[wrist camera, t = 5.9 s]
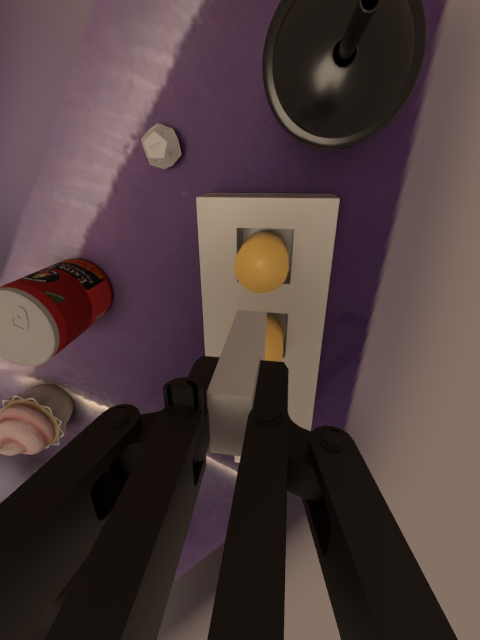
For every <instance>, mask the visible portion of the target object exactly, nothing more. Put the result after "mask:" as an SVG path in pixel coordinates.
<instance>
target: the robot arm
mask: <svg viewBox="0 0 480 640" xmlns="http://www.w3.org/2000/svg"><path fill="white" fill-rule="evenodd" d="M266 323H267V312H258V311H243V310H237V313H236V316H235V318H234V321H233V324H232V326H231V329H230V332H229V334H228V337H227V340H226V342H225V345H224V348H223V350H222V353H221V356H220V357H211V356H202V357H201V358H199V359H198V360H197V361H196V362H195V363H194V365H193V367H192V369H191V371H190V373H189V375H188V377H183V378H177V379H173V380H171V381H169V382H168V383H166V384H165V386H164V387H163V394H164V402H165V408H164V410H162V411H159V412H154V413H147V414H140V412H139V410H138V408H137V407H135V406H133V405H128V404H122V405H117V406H114V407H111V408H109V409H108V410H106V411H105V412H103V413H102V414H101V415H100V416H99V417H98V418H96V419H95V420H94V421H93V422H92V423H91V424H90V425H89V426H87V427H86V428H85V429H84V430H83V431H82V432H81V433H79V434H78V435H77V436H76V437H75V438H74V439H73V440H72V441H70V442H69V443H68V444H67V445H66V446H65V447H64V448H63V449H61V450H60V451H59V452H58V453H57V454H56V455H55V456H54V457H52V458H51V459H50V460H49V461H48V462H47V463H46V464H45V465H43V466H42V467H41V468H40V469H39V470H38V471H37V472H36V473H34V474H33V475H32V476H31V477H30V478H29V479H28V480H26V481H25V482H24V483H23V484H22V485H21V486H20V487H19V488H17V489H16V490H15V491H14V492H13V493H12V494H11V495H10V496H8V497H7V498H6V499H5V500H4V501H3V502H2V503H1V504H0V640H157V636H158V632H159V629H160V626H161V622H162V618H163V615H164V611H165V608H166V604H167V601H168V597H169V594H170V590H171V587H172V583H173V580H174V576H175V573H176V569H177V566H178V562H179V559H180V555H181V552H182V548H183V545H184V541H185V538H186V534H187V531H188V527H189V523H190V520H191V516H192V513H193V509H194V506H195V502H196V499H197V495H198V492H199V488H200V485H201V481H202V478H203V474H204V471H205V467H206V452H207V448H208V445H209V452H211V453H218V454H226V455H234V456H241V458H240V463H239V469H238V474H237V480H236V485H235V491H234V496H233V502H232V507H231V513H230V518H229V524H228V529H227V535H226V540H225V546H224V552H223V557H222V563H221V568H220V573H219V579H218V585H217V590H216V595H215V601H214V606H213V612H212V618H211V623H210V628H209V634H208V640H284V601H285V556H286V510H287V491H289V492H291V493H293V494H296V495H298V496H300V497H302V500H303V504H304V508H305V512H306V515H307V518H308V522H309V526H310V529H311V533H312V537H313V540H314V543H315V547H316V550H317V554H318V558H319V562H320V565H321V569H322V573H323V576H324V580H325V583H326V587H327V590H328V594H329V598H330V601H331V605H332V608H333V612H334V615H335V619H336V623H337V626H338V630H339V633H340V637H341V640H458V639H457V637H456V635H455V633H454V632H453V630H452V628H451V626H450V624H449V622H448V620H447V618H446V616H445V614H444V612H443V611H442V609H441V607H440V605H439V603H438V601H437V599H436V597H435V595H434V593H433V591H432V589H431V588H430V586H429V584H428V582H427V580H426V578H425V576H424V574H423V572H422V571H421V568H420V567H419V565H418V563H417V561H416V559H415V557H414V555H413V553H412V551H411V549H410V547H409V546H408V544H407V542H406V540H405V538H404V536H403V534H402V532H401V530H400V528H399V526H398V524H397V523H396V521H395V519H394V517H393V515H392V513H391V511H390V509H389V507H388V505H387V503H386V501H385V500H384V498H383V496H382V494H381V492H380V491H379V488H378V486H377V484H376V482H375V480H374V479H373V477H372V475H371V473H370V471H369V469H368V467H367V465H366V463H365V461H364V459H363V457H362V455H361V454H360V452H359V450H358V448H357V446H356V444H355V442H354V440H353V439H352V438H351V436H350V435H349V434H348V433H346V432H345V431H343V430H342V429H340V428H337V427H334V426H321V427H318V428H316V429H315V430H313V431H309V430H307V429H304V428H302V427H300V426H298V425H297V424H295V423H294V422H293V421H292V420H291V418H290V416H289V414H288V375H289V369H288V368H287V366H286V365H285V363H284V362H277V361H266V360H265V344H266Z"/></svg>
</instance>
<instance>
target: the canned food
mask: <svg viewBox="0 0 480 640" xmlns="http://www.w3.org/2000/svg"><path fill="white" fill-rule="evenodd" d="M111 301H112V289H111V285H110V283H109V281H108V279H107V277H106V276H105V274H104V273H103V272H102V271H101V270H100V269H99V268H98V267H97V266H95V265H94V264H92V263H90V262H88V261H85V260H79V259H68V260H65V261H62V262H59V263H57V264H54V265H52V266H50V267H47V268H45V269H42V270H40V271H37V272H35V273H32V274H30V275H28V276H25V277H23V278H20V279H18V280H15V281H13V282H11V283H8V284H6V285H3V286H2V287H0V355H1V356H2V357H3V358H5V359H7V360H9V361H11V362H13V363H15V364H18V365H23V366H37V365H40V364H42V363H45V362H46V361H48V360H50V359H51V358H52V357H53V356H54V355H56V354H57V353H59V352H60V351H61V350H62V349H63V348H65V347H66V346H67V345H68V344H70V343H71V342H72V341H73V340H74V339H76V338H77V337H78V336H79V335H81V334H82V333H83V332H84V331H85V330H87V329H88V328H89V327H90V326H92V325H93V324H94V323H95V322H97V321H98V320H99V319H100V318H101V317H103V316H104V315H105V314H106V312H107V311H108V309H109V307H110V304H111Z"/></svg>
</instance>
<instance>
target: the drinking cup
mask: <svg viewBox="0 0 480 640" xmlns="http://www.w3.org/2000/svg"><path fill="white" fill-rule="evenodd" d="M426 36H427V29H426V18H425V12H424V7H423V3H422V0H281V2H280V4H279V5H278V7H277V9H276V11H275V13H274V16H273V18H272V20H271V23H270V26H269V29H268V32H267V36H266V40H265V45H264V51H263V67H262V68H263V81H264V88H265V92H266V96H267V100H268V103H269V105H270V108H271V110H272V112H273V114H274V116H275V117H276V119H277V121H278V122H279V124H280V125H281V126H282V127H283V128H284V130H285V131H286V132H287V133H288V134H290V135H291V136H292V137H293V138H295V139H296V140H298V141H299V142H301V143H303V144H305V145H307V146H310V147H313V148H318V149H325V150H336V149H343V148H348V147H351V146H354V145H357V144H359V143H362V142H364V141H366V140H367V139H369V138H371V137H373V136H374V135H375V134H377V133H378V132H380V131H381V130H382V129H383V128H385V127H386V126H387V125H388V124H389V123H390V122H391V121H392V120H393V119H394V118H395V116H396V115H397V114H398V113H399V112H400V110H401V109H402V108H403V106H404V105H405V103H406V102H407V100H408V98H409V97H410V95H411V93H412V91H413V89H414V87H415V85H416V83H417V80H418V77H419V75H420V72H421V68H422V65H423V61H424V55H425V49H426Z"/></svg>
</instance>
